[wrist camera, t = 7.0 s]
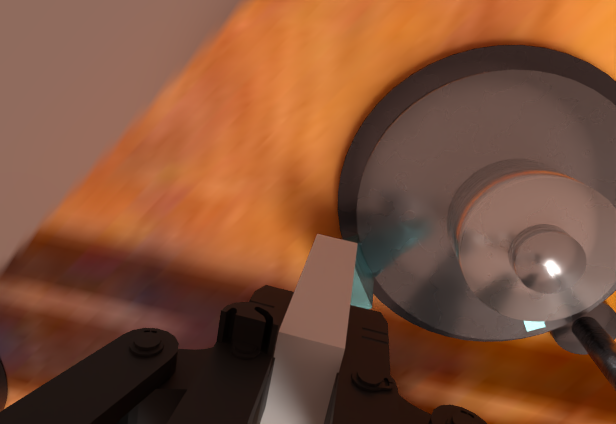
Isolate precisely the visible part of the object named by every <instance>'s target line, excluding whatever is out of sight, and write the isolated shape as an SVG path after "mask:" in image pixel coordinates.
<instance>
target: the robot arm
mask: <svg viewBox="0 0 616 424" xmlns="http://www.w3.org/2000/svg"><path fill="white" fill-rule="evenodd" d="M357 244H358V243H355V242H350V241H346V240H342V239H338V238H333V237H329V236H325V235H321V234H317V235H316V238H315V241H314V243H313V246H312V248H311V251H310V253H309V256H308V258H307V261H306V263H305V266H304V269H303V271H302V274H301V276H300V279H299V281H298V284H297V286H296V289H295V291H294V292H292V291H288V290H284V289H280V288H276V287H272V286H268V285H265V286H264V287H262V288H260V289H258V290H256V291H255V292H254V294H253V295H252V297H251V299H250V301H249V302H239V303H234V304H231V305H228V306H226V307H225V308H224V309H223V310H221V315H220V322H219V329H218V336H217V342H216V344H215V345H214V347H212V348H208V349H201V350H188V349H178V344H179V343H178V342H177V340H176V338H175V337H174V336H173V335H172V334H170V333H169V332H167V331H163V330H160V329H155V328H142V329H137V330H132V331H130V332H128V333H126V334H123V335H122V336H120V337H118V338H117V339H115V340H114V341H112V342H111V343H109V344H107V345H106V346H104V347H103V348H101V349H99V350H98V351H96V352H95V353H93V354H91V355H90V356H88V357H87V358H85V359H84V360H82V361H80V362H79V363H77V364H76V365H74V366H72V367H71V368H69V369H68V370H66V371H64V372H63V373H61V374H60V375H58V376H56V377H55V378H53V379H52V380H50V381H49V382H47V383H45V384H44V385H42V386H41V387H39V388H37V389H36V390H34V391H33V392H31V393H29V394H28V395H26V396H25V397H23V398H22V399H20V400H18V401H17V402H15V403H14V404H12V405H10V406H9V407H7V408H6V409H4V406H5V403H6V399H7V381H6V376H5V373H4V369H3V367H2V364H1V362H0V424H487V423H486V422H485V421H484V420H483V419H481V418H480V417H479V416H477V415H476V414H475V413H473V412H471V411H469V410H467V409H465V408H462V407H458V406H454V405H441V406H439V407H437V408H436V409H434V410H433V413H432V415H430V414H428V413H427V412H425V411H423V410H421V409H419V408H417V407H415V406H413V405H412V404H410V403H408V402H407V401H406V400H405V399H403V398H402V397H401V396H400V395H399V394H398V389H397V386H396V383H395V381H394V379H393V378H392V377H391V376H390V361H389V345H388V343H389V339H388V323H387V321H386V320H385V318H384V317H383V315H382V314H381V312H377V311H373V310H369V309H365V308H361V307H357V306H353V305H350V302H351V294H352V286H353V277H354V269H355V261H356V252H357ZM3 409H4V410H3ZM260 422H261V423H260Z"/></svg>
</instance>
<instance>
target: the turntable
mask: <svg viewBox="0 0 616 424" xmlns="http://www.w3.org/2000/svg"><path fill="white" fill-rule="evenodd" d="M507 159H529V160H535V161H538V162H541V163H544V164H546V165H548V166H551V167H553V168H555V169H556V170H558V171H560V172H562V173H564V174H566V175H568V176H570V177H572V178H574V179H576V180H578V181H579V182H581V183H583V184H585V185H587V186H589V187H591V188H593V189H594V190H596V191H597V192H599V193H601V194H602V195H603V196H604V197H605V198H606V199H608V200H609V201H610V202H611V204H612V205H613V206H614V207H615V208H616V106H615V105H614V104H613V103H612V102H611V101H610V100H608V99H607V98H605V97H604V96H602V95H601V94H599V93H598V92H597V91H595V90H594V89H592V88H589V87H587V86H585V85H583V84H581V83H579V82H577V81H575V80H572V79H569V78H566V77H562V76H559V75H556V74H551V73H546V72H540V71H534V70H503V71H492V72H483V73H478V74H474V75H469V76H465V77H462V78H459V79H456V80H453V81H450V82H448V83H445V84H443V85H441V86H439V87H437V88H435V89H433V90H431V91H429V92H428V93H426V94H425V95H423V96H422V97H420V98H419V99H417V100H416V101H414V102H413V103H412V104H410V105H409V106H408V107H407V108H406V109H405V110H403V111H402V112H401V113H400V114H399V115H398V116H397V117H396V118H395V119H394V120H393V121H392V123H391V124H390V125H389V126H388V127H387V128H386V130H385V131H384V132H383V134H382V135H381V137H380V138H379V140H378V141H377V143H376V144H375V146H374V148H373V150H372V152H371V154H370V156H369V158H368V161H367V164H366V166H365V169H364V172H363V175H362V179H361V184H360V189H359V193H358V200H357V230H358V234H356V235H354V236H351V237H348V238H345V239H342V240H346V241H350V242H355V243H358V244H357V252H356V261H355V269H354V277H353V286H352V294H351V302H350V305H353V306H357V307H361V308H365V309H370V308H372V302H373V284H374V277H375V278H376V280H377V281H378V283H379V284H380V286H381V287H382V288H383V290H384V291H385V292H386V293H387V294H388V295H389V296H390V297H391V298H392V300H393V301H395V302H396V303H397V304H398V305H399V306H400V307H402V308H403V309H404V310H405V311H407V312H408V313H410V314H411V315H413V316H414V317H416V318H417V319H419V320H420V321H422V322H424V323H426V324H428V325H430V326H432V327H435V328H437V329H440V330H443V331H445V332H448V333H452V334H456V335H460V336H464V337H469V338H477V339H492V340H504V339H515V338H523V337H528V336H533V335H537V334H541V333H544V332H547V331H550V330H553V329H556V328H559V327H561V326H563V325H565V324H568V323H570V322H572V321H574V320H576V319H578V318H579V317H581V316H583V315H584V314H586V313H588V312H590V311H591V310H592V309H594V308H595V307H596V306H598V305H599V304H600V303H602V302H603V301H604V300H605V299H606V298H608V297H609V296H610V295H611V294H612V293H613V292H614V291H615V290H616V282H615V283H614V285H613V286H612V287H611V288H610V290H609V291H608V292H607V293H606V294H605V295H604V296H603V297H602V298H601V299H599V300H598V301H597V302H596V303H594V304H593V305H591V306H590V307H588V308H587V309H585V310H583V311H581V312H579V313H577V314H574V315H572V316H569V317H566V318H562V319H558V320H552V321H544V322H532V321H522V320H518V319H513V318H510V317H507V316H504V315H502V314H500V313H498V312H496V311H494V310H492V309H491V308H489V307H488V306H486V305H485V304H484V303H483V302H481V301H480V300H479V299H478V298H477V296H476V295H475V294H474V293H473V292H472V290H471V289H470V287H469V286H468V284H467V282H466V280H465V277H464V275H463V272H462V270H461V267H460V265H459V262H458V260H457V257H456V255H455V252H454V250H453V248H452V245H451V243H450V240H449V236H448V232H447V213H448V209H449V205H450V203H451V200H452V198H453V196H454V194H455V192H456V191H457V189H458V188H459V187H460V185H461V184H462V183H463V182H464V181H465V180H466V179H467V178H468V177H469V176H471V175H472V174H473V173H474V172H476V171H478V170H479V169H481V168H483V167H485V166H487V165H489V164H492V163H495V162H498V161H502V160H507Z"/></svg>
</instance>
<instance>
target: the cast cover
mask: <svg viewBox="0 0 616 424" xmlns="http://www.w3.org/2000/svg"><path fill="white" fill-rule="evenodd" d="M447 232H448V236H449V240H450V243H451V245H452V248H453V250H454V252H455V255H456V257H457V260H458V262H459V265H460V267H461V270H462V272H463V275H464V277H465V280H466V282H467V284H468V286H469V287H470V289H471V290H472V292H473V293H474V294H475V295H476V296H477V298H478V299H479V300H480V301H481V302H483V303H484V304H485V305H486V306H488V307H489V308H491V309H492V310H494V311H496V312H498V313H500V314H502V315H504V316H507V317H510V318H513V319H518V320H522V321H532V322H544V321H552V320H558V319H562V318H566V317H569V316H572V315H574V314H577V313H579V312H581V311H583V310H585V309H587V308H588V307H590V306H591V305H593V304H594V303H596V302H597V301H598V300H599V299H601V298H602V297H603V296H604V295H605V294H606V293H607V292H608V291H609V290H610V288H611V287H612V286H613V285H614V283H615V282H616V208H615V207H614V206H613V205H612V204H611V202H610V201H609V200H608V199H606V198H605V197H604V196H603V195H602V194H601V193H599V192H597V191H596V190H594V189H593V188H591V187H589V186H587V185H585V184H583V183H581V182H579V181H578V180H576V179H574V178H572V177H570V176H568V175H566V174H564V173H562V172H560V171H558V170H556V169H555V168H553V167H551V166H548V165H546V164H544V163H541V162H538V161H535V160H529V159H507V160H502V161H498V162H495V163H492V164H489V165H487V166H485V167H483V168H481V169H479V170H478V171H476V172H474V173H473V174H472V175H471V176H469V177H468V178H467V179H466V180H465V181H464V182H463V183H462V184H461V185H460V187H459V188H458V189H457V191H456V192H455V194H454V196H453V198H452V200H451V203H450V205H449V209H448V213H447Z"/></svg>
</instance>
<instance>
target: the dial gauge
mask: <svg viewBox="0 0 616 424" xmlns="http://www.w3.org/2000/svg"><path fill="white" fill-rule="evenodd" d="M550 333H551V335H552V336H553V338H554V339H555V341H556V342H557V343H558V345H559V346H560V347H562V348H563V349H565V350H567V351H569V352H572V353H576V354H589V356H590V357H591V358H592V360H593V361H594V362H595V364H596V365H597V366H598V368H599V369H600V370H601V372H602V373H603V374H604V376H605V377H606V378H607V380H608V381H609V382H610V384H611V385H612V387H613V388H614V389H615V391H616V342H615V341H614V340H615V338H616V313H615V312H614V310H613V309H612V308H611V307H610V306H609V305H608V304H607V303H606V302H604V301H603V302H602V303H600V304H599V305H598V306H596V307H595V308H594V309H592V310H591V311H590V312H588V313H586V314H584V315H583V316H581V317H580V318H578V319H576V320H574V321H572V322H570V323H568V324H565V325H564V326H562V327H559V328H556V329H553V330H551V331H550Z"/></svg>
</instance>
